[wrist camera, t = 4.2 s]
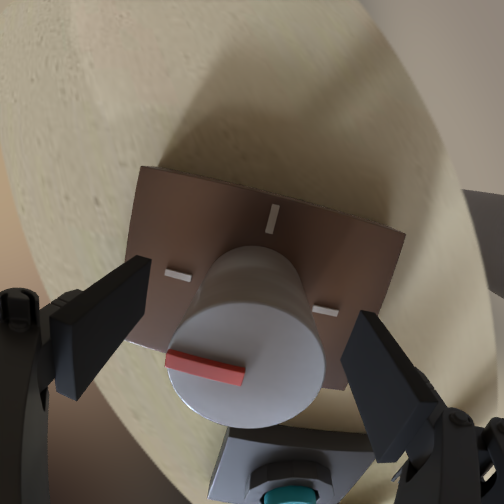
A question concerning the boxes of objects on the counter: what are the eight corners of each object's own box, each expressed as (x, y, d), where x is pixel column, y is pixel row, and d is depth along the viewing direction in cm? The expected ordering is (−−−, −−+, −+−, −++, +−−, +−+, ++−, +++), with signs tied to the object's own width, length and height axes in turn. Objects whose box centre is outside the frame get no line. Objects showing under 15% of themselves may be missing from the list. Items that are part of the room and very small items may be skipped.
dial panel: (389, 226, 17) (407, 234, 15) (336, 369, 20) (344, 392, 17) (156, 166, 17) (139, 165, 14) (132, 320, 19) (116, 339, 17)
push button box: (374, 433, 21) (386, 467, 17) (328, 494, 24) (333, 524, 20) (231, 416, 21) (225, 454, 17) (209, 481, 23) (204, 513, 20)
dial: (314, 259, 15) (353, 326, 8) (286, 345, 17) (297, 444, 10) (214, 234, 15) (174, 284, 8) (196, 324, 16) (157, 414, 9)
